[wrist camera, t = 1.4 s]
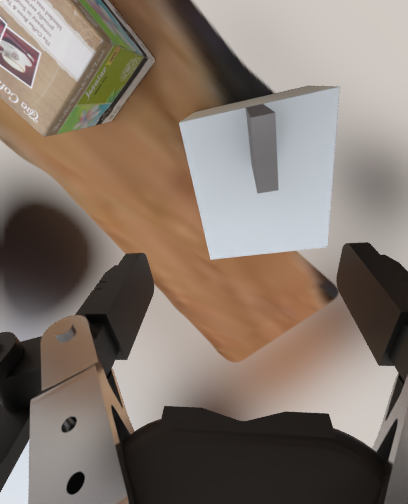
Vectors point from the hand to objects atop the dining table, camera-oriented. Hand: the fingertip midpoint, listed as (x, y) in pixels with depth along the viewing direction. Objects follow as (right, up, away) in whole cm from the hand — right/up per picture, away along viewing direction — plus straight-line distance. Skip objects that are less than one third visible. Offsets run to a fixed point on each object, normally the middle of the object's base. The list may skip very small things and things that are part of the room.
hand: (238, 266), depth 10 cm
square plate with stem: (+5, +7, +16) cm, 18 cm away
